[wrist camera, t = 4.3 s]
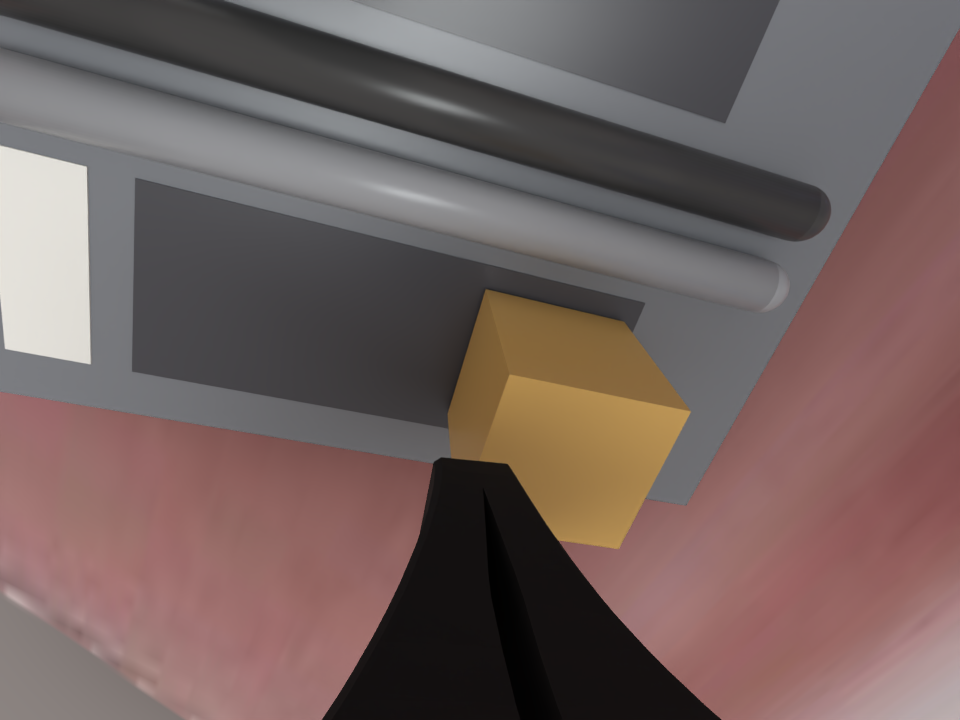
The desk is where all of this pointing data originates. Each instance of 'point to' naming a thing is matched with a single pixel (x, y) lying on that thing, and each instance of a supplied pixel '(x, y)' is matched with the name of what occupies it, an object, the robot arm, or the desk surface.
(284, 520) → the desk surface
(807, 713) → the desk surface
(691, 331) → the slider rail fixture
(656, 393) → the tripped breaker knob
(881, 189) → the desk surface
